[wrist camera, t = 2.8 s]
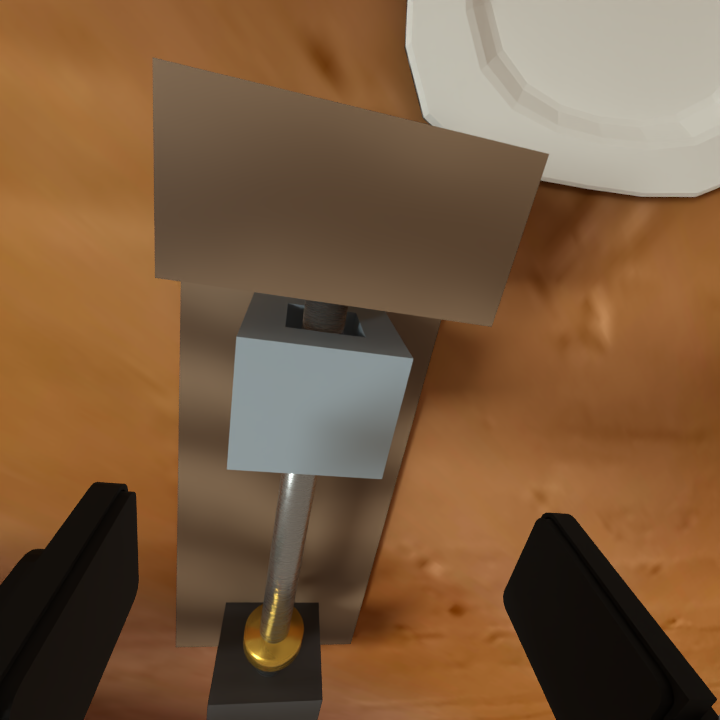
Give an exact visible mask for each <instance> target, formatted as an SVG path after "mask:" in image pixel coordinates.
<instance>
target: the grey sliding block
mask: <svg viewBox="0 0 720 720" xmlns="http://www.w3.org/2000/svg"><path fill="white" fill-rule="evenodd" d="M304 305H305V299H298V298H291V297H284V296H277V295H271V294H264V293H257V292H254V295H253V297H252V299H251V302H250V304H249V307H248V309H247V312H246V314H245V317H244V319H243V322H242V324H241V327H240V329H239V331H238V334H237V336H236V349H235V363H234V377H233V391H232V405H231V418H230V432H229V446H228V460H227V470H243V471H258V472H274V473H290V474H306V475H322V476H338V477H354V478H370V479H382V477H383V473H384V469H385V465H386V461H387V458H388V454H389V450H390V446H391V442H392V439H393V435H394V431H395V427H396V423H397V419H398V416H399V412H400V408H401V404H402V400H403V397H404V393H405V389H406V385H407V381H408V377H409V374H410V370H411V366H412V362H413V357H412V355H411V354H410V352H409V350H408V349H407V347H406V345H405V344H404V342H403V340H402V339H401V337H400V336H399V334H398V332H397V331H396V329H395V327H394V326H393V324H392V322H391V321H390V319H389V317H388V316H387V314H386V312H385V311H380V310H373V309H366V308H360V307H353V306H348V311H347V316H346V322H345V327H344V333H343V335H342V334H335V333H327V332H320V331H312V330H305V329H301V327H302V320H303V313H304Z"/></svg>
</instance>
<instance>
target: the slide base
mask: <svg viewBox="0 0 720 720" xmlns="http://www.w3.org/2000/svg"><path fill="white" fill-rule="evenodd" d="M153 132H154V221H155V278H161V279H168V280H175V281H181V313H180V384H179V456H178V527H177V598H176V647H213V646H218V650H217V655H216V661H215V667H214V672H213V678H212V683H211V689H210V695H209V700H208V707H207V720H317V719H318V715H319V711H320V708H321V704H322V676H321V650H320V645H323V644H351V641H352V637H353V634H354V630H355V626H356V623H357V619H358V616H359V612H360V609H361V605H362V601H363V598H364V594H365V591H366V587H367V584H368V580H369V576H370V573H371V569H372V566H373V562H374V559H375V555H376V551H377V548H378V544H379V541H380V537H381V534H382V530H383V526H384V523H385V519H386V516H387V512H388V509H389V505H390V501H391V498H392V494H393V491H394V487H395V484H396V480H397V476H398V473H399V469H400V466H401V462H402V458H403V455H404V451H405V448H406V444H407V441H408V437H409V433H410V430H411V426H412V423H413V419H414V416H415V412H416V408H417V405H418V401H419V398H420V394H421V391H422V387H423V383H424V380H425V376H426V373H427V369H428V366H429V362H430V358H431V355H432V351H433V348H434V344H435V341H436V337H437V333H438V330H439V326H440V323H441V319H442V320H449V321H456V322H462V323H469V324H476V325H483V326H490V327H492V324H493V321H494V318H495V315H496V312H497V309H498V306H499V303H500V300H501V297H502V294H503V291H504V288H505V285H506V282H507V279H508V276H509V273H510V270H511V267H512V264H513V261H514V258H515V255H516V252H517V249H518V246H519V243H520V240H521V237H522V234H523V231H524V228H525V225H526V222H527V219H528V216H529V213H530V210H531V207H532V204H533V201H534V198H535V195H536V192H537V189H538V186H539V183H540V180H541V177H542V174H543V171H544V168H545V165H546V162H547V159H548V156H549V154H547V153H543V152H539V151H535V150H531V149H527V148H522V147H518V146H514V145H510V144H506V143H502V142H498V141H494V140H490V139H485V138H481V137H477V136H473V135H469V134H465V133H461V132H457V131H453V130H448V129H444V128H440V127H436V126H432V125H428V124H424V123H420V122H416V121H412V120H407V119H403V118H399V117H395V116H391V115H387V114H383V113H379V112H375V111H370V110H366V109H362V108H358V107H354V106H350V105H346V104H342V103H338V102H333V101H329V100H325V99H321V98H317V97H313V96H309V95H305V94H301V93H296V92H292V91H288V90H284V89H280V88H276V87H272V86H268V85H264V84H260V83H255V82H251V81H247V80H243V79H239V78H235V77H231V76H227V75H223V74H218V73H214V72H210V71H206V70H202V69H198V68H194V67H190V66H186V65H181V64H177V63H173V62H169V61H165V60H161V59H157V58H153ZM254 292H257V293H264V294H271V295H277V296H284V297H291V298H298V299H305V300H312V301H319V302H325V303H332V304H339V305H346V306H353V307H360V308H366V309H373V310H380V311H385V312H386V314H387V316H388V317H389V319H390V321H391V322H392V324H393V326H394V327H395V329H396V331H397V332H398V334H399V336H400V337H401V339H402V340H403V342H404V344H405V345H406V347H407V349H408V350H409V352H410V354H411V355H412V357H413V362H412V366H411V370H410V374H409V377H408V381H407V385H406V389H405V393H404V397H403V400H402V404H401V408H400V412H399V416H398V419H397V423H396V427H395V431H394V435H393V439H392V442H391V446H390V450H389V454H388V458H387V461H386V465H385V469H384V473H383V477H382V479H370V478H354V477H338V476H322V475H317V481H316V486H315V492H314V497H313V503H312V508H311V514H310V519H309V525H308V530H307V535H306V541H305V546H304V552H303V557H302V563H301V568H300V574H299V579H298V585H297V590H296V596H295V601H294V607H295V608H296V609H297V610H298V612H299V613H300V615H301V617H302V619H303V624H304V633H303V638H302V643H301V647H300V651H299V653H298V655H297V656H296V658H295V659H294V661H293V662H292V663H291V664H290V665H288V666H287V667H285V668H283V669H281V670H280V672H279V673H278V674H276V675H275V676H273V677H263V676H261V675H260V674H259V673H258V672H257V670H256V668H255V667H254V666H253V665H252V664H251V663H250V662H249V661H248V660H247V658H246V656H245V653H244V649H243V639H244V630H245V625H246V622H247V619H248V617H249V616H250V614H251V613H252V612H253V611H254V610H255V609H256V608H257V607H258V606H260V605H262V604H263V602H264V594H265V587H266V580H267V573H268V566H269V558H270V551H271V544H272V537H273V529H274V522H275V515H276V508H277V501H278V493H279V486H280V479H281V473H274V472H258V471H243V470H227V460H228V446H229V432H230V418H231V405H232V391H233V377H234V363H235V349H236V336H237V334H238V331H239V329H240V327H241V324H242V322H243V319H244V317H245V314H246V312H247V309H248V307H249V304H250V302H251V299H252V297H253V295H254Z"/></svg>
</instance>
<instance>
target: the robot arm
mask: <svg viewBox="0 0 720 720" xmlns="http://www.w3.org/2000/svg"><path fill="white" fill-rule="evenodd" d="M138 583H139V575H138V541H137V508H136V493H135V492H128V488H127V485H126V484H118V483H103V482H95V483H93V484H92V485H91V487H90V488H89V489H88V490H87V492H86V493H85V495H84V496H83V497H82V499H81V500H80V501H79V503H78V504H77V506H76V507H75V508H74V510H73V511H72V512H71V514H70V515H69V517H68V518H67V519H66V521H65V522H64V523H63V525H62V526H61V528H60V529H59V530H58V532H57V533H56V534H55V536H54V537H53V539H52V540H51V541H50V543H49V544H48V545H47V547H46V548H45V549H34V550H31V551H30V552H28V553H27V554H25V555H24V557H23V558H22V559H21V560H20V561H19V562H18V563H17V565H16V566H15V567H14V568H13V570H12V571H11V572H10V574H9V575H8V576H7V577H6V579H5V580H4V581H3V583H2V584H1V585H0V720H84V717H85V715H86V713H87V710H88V708H89V706H90V703H91V701H92V699H93V696H94V694H95V691H96V689H97V687H98V684H99V682H100V680H101V677H102V675H103V673H104V670H105V668H106V666H107V663H108V661H109V658H110V656H111V654H112V651H113V649H114V647H115V644H116V642H117V640H118V637H119V635H120V633H121V630H122V628H123V625H124V623H125V621H126V618H127V616H128V614H129V611H130V609H131V607H132V604H133V602H134V599H135V596H136V593H137V589H138ZM503 601H504V606H505V609H506V611H507V613H508V615H509V618H510V620H511V622H512V624H513V626H514V629H515V631H516V633H517V635H518V637H519V640H520V642H521V644H522V646H523V648H524V650H525V653H526V655H527V657H528V659H529V661H530V664H531V666H532V668H533V670H534V672H535V675H536V677H537V679H538V681H539V683H540V685H541V688H542V690H543V692H544V694H545V696H546V699H547V701H548V703H549V705H550V707H551V709H552V712H553V714H554V716H555V718H556V720H720V715H719V716H718V715H717V714H716V712H715V711H714V710H713V708H712V707H711V706H712V705H713V704H714V703H715V702H716V700H717V698H716V697H715V696H714V695H713V693H712V692H711V691H710V690H709V688H708V687H707V686H706V684H705V683H704V682H703V681H702V679H701V678H700V677H699V676H698V674H697V673H696V672H695V670H694V669H693V668H692V667H691V665H690V664H689V663H688V662H687V660H686V659H685V658H684V657H683V655H682V654H681V653H680V651H679V650H678V649H677V648H676V646H675V645H674V644H673V643H672V641H671V640H670V639H669V637H668V636H667V635H666V634H665V632H664V631H663V630H662V629H661V627H660V626H659V625H658V624H657V622H656V621H655V620H654V618H653V617H652V616H651V615H650V613H649V612H648V611H647V610H646V608H645V607H644V606H643V604H642V603H641V602H640V601H639V599H638V598H637V597H636V596H635V594H634V593H633V592H632V591H631V589H630V588H629V587H628V585H627V584H626V583H625V582H624V580H623V579H622V578H621V577H620V575H619V574H618V573H617V571H616V570H615V569H614V568H613V566H612V565H611V564H610V563H609V561H608V560H607V559H606V557H605V556H604V555H603V554H602V552H601V551H600V550H599V549H598V547H597V546H596V545H595V544H594V542H593V541H592V540H591V538H590V537H589V536H588V535H587V533H586V532H585V531H584V530H583V528H582V527H581V526H580V524H579V523H578V522H577V521H576V519H575V518H574V517H573V516H571V515H569V514H561V513H545V514H543V515H542V517H541V518H539V519H538V520H537V521H536V522H535V525H534V527H533V529H532V531H531V533H530V536H529V538H528V540H527V542H526V544H525V547H524V549H523V551H522V553H521V555H520V558H519V560H518V562H517V564H516V566H515V569H514V571H513V573H512V575H511V577H510V580H509V582H508V584H507V586H506V588H505V591H504V594H503Z"/></svg>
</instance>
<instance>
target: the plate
mask: <svg viewBox="0 0 720 720" xmlns="http://www.w3.org/2000/svg"><path fill="white" fill-rule="evenodd" d="M405 51H406V54H407V58H408V62H409V66H410V70H411V74H412V78H413V82H414V86H415V90H416V93H417V97H418V101H419V105H420V109H421V113H422V117H423V119H424V120H425V121H427V122H428V123H429V124H430V125H432V126H436V127H440V128H444V129H448V130H453V131H457V132H461V133H465V134H469V135H473V136H477V137H481V138H485V139H490V140H494V141H498V142H502V143H506V144H510V145H514V146H518V147H522V148H527V149H531V150H535V151H539V152H543V153H547V154H549V156H548V159H547V162H546V165H545V168H544V171H543V174H542V177H541V181H547V182H552V183H558V184H563V185H568V186H574V187H579V188H585V189H592V190H599V191H606V192H612V193H619V194H626V195H633V196H640V197H696V196H699V195H701V194H704V193H706V192H709V191H712V190H714V189H717V188H719V187H720V0H407V9H406V31H405Z"/></svg>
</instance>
